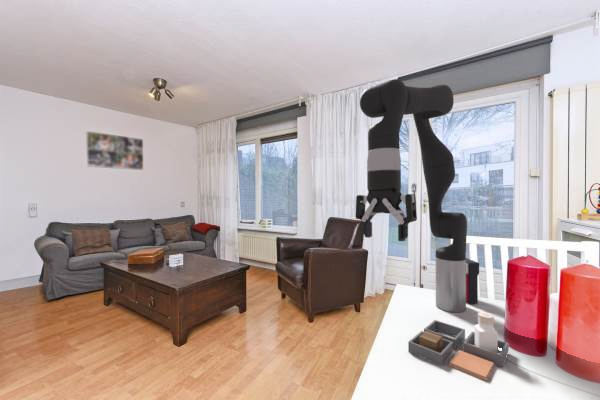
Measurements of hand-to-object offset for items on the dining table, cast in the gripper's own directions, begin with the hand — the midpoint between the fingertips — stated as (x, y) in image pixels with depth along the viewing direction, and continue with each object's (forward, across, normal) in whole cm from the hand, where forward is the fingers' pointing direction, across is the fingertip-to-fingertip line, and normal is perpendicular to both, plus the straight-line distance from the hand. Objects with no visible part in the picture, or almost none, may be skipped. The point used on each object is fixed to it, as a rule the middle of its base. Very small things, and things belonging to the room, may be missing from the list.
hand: (384, 238), depth 62 cm
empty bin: (+29, -6, -21) cm, 36 cm away
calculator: (+29, -2, -57) cm, 64 cm away
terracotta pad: (+29, -15, -12) cm, 35 cm away
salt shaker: (+29, -16, -21) cm, 39 cm away
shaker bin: (+29, -16, -21) cm, 39 cm away
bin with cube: (+29, -6, -12) cm, 32 cm away
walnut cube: (+29, -6, -12) cm, 32 cm away
